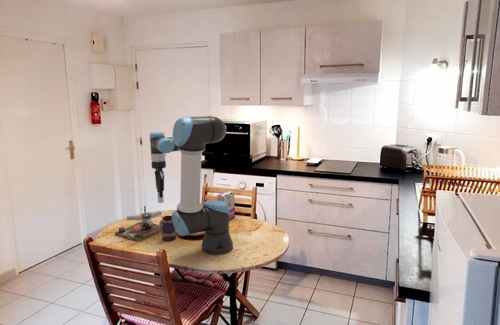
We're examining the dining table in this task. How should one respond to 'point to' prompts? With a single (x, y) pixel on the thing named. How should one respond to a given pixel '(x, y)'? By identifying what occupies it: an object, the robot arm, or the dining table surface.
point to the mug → (167, 229)
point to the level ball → (137, 228)
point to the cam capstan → (145, 220)
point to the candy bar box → (228, 202)
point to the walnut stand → (137, 233)
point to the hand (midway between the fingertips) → (160, 202)
